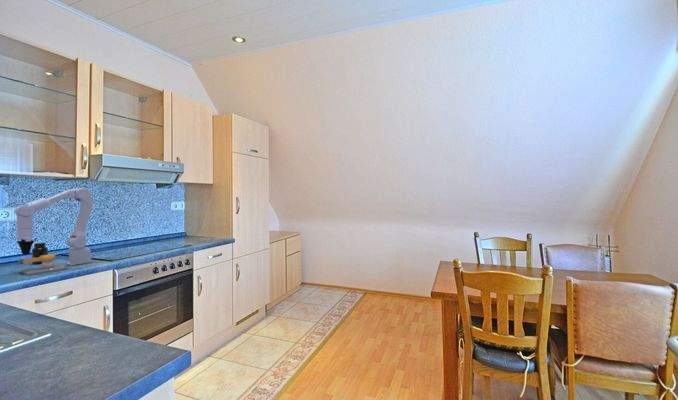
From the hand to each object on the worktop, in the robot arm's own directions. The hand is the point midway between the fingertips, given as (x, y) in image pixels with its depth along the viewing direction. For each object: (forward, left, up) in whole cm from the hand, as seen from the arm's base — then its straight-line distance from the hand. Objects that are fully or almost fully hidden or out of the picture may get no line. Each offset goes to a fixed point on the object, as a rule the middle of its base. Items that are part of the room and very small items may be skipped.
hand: (25, 254), depth 160 cm
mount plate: (-6, +5, -9) cm, 12 cm away
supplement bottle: (-9, -22, -10) cm, 26 cm away
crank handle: (-4, +4, -4) cm, 7 cm away
